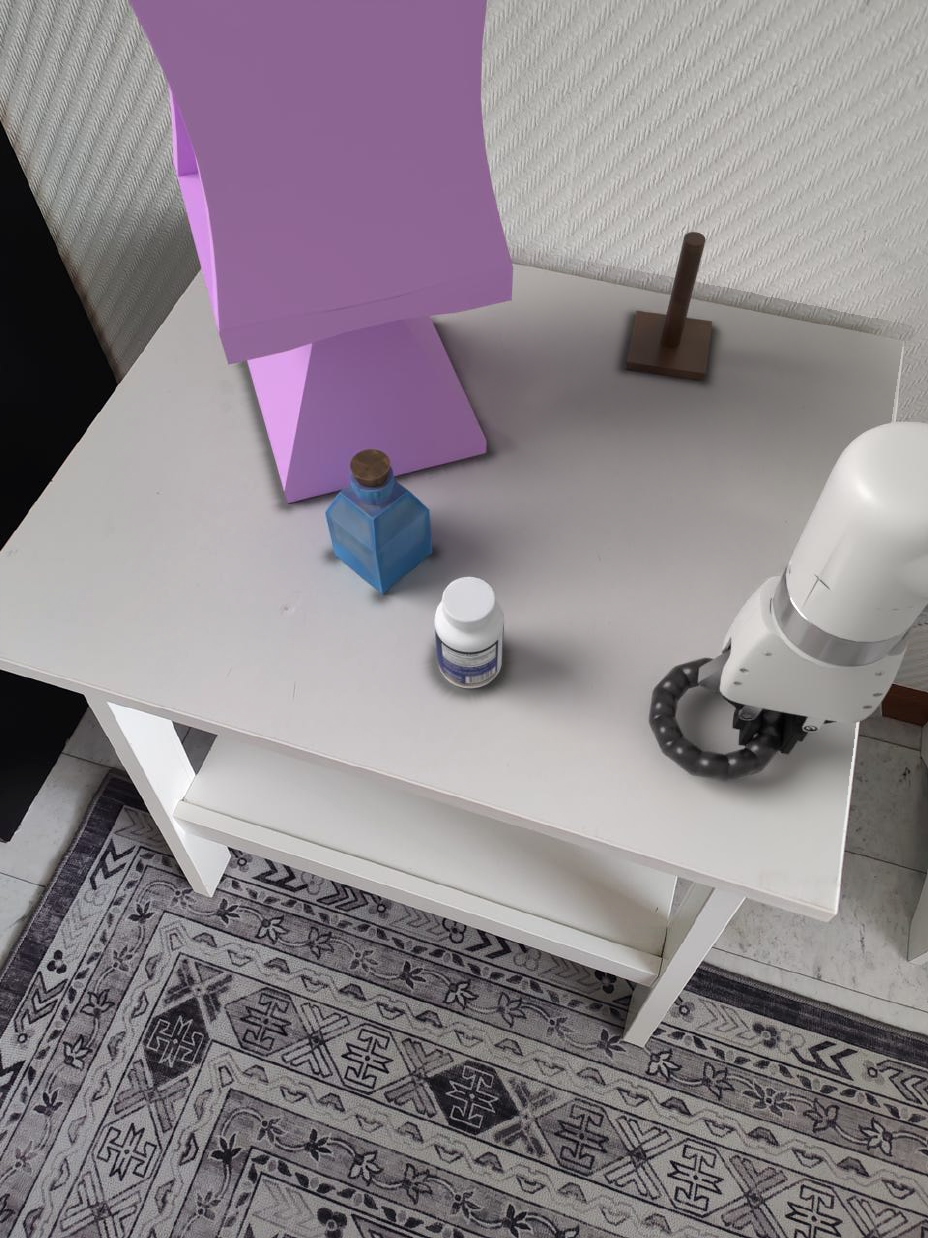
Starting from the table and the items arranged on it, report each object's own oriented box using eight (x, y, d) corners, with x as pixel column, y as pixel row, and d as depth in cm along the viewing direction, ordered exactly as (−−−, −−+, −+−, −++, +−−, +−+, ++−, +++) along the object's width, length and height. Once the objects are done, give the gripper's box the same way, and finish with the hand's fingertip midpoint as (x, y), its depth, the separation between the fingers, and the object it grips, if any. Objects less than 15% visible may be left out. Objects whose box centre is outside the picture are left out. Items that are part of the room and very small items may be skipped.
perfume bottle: (432, 552, 79) (426, 462, 69) (382, 594, 77) (368, 508, 67) (384, 515, 82) (371, 422, 71) (334, 555, 79) (314, 465, 69)
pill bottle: (452, 624, 75) (449, 558, 67) (511, 645, 74) (516, 581, 66) (427, 677, 73) (420, 615, 64) (487, 699, 72) (489, 639, 63)
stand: (710, 328, 94) (741, 217, 83) (703, 380, 90) (735, 271, 79) (635, 317, 95) (656, 206, 84) (625, 368, 91) (646, 259, 80)
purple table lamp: (232, 357, 93) (61, -210, 54) (436, 311, 96) (411, -253, 58) (275, 518, 82) (99, -53, 43) (504, 459, 85) (530, -117, 47)
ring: (782, 679, 71) (789, 667, 69) (776, 796, 65) (783, 786, 64) (656, 656, 72) (659, 644, 70) (640, 769, 67) (644, 759, 65)
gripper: (981, 575, 53) (872, 709, 69) (709, 532, 56) (664, 671, 71) (990, 684, 49) (872, 799, 65) (698, 633, 52) (653, 756, 67)
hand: (764, 731), depth 68 cm, fingers closed on ring, 2 cm apart
